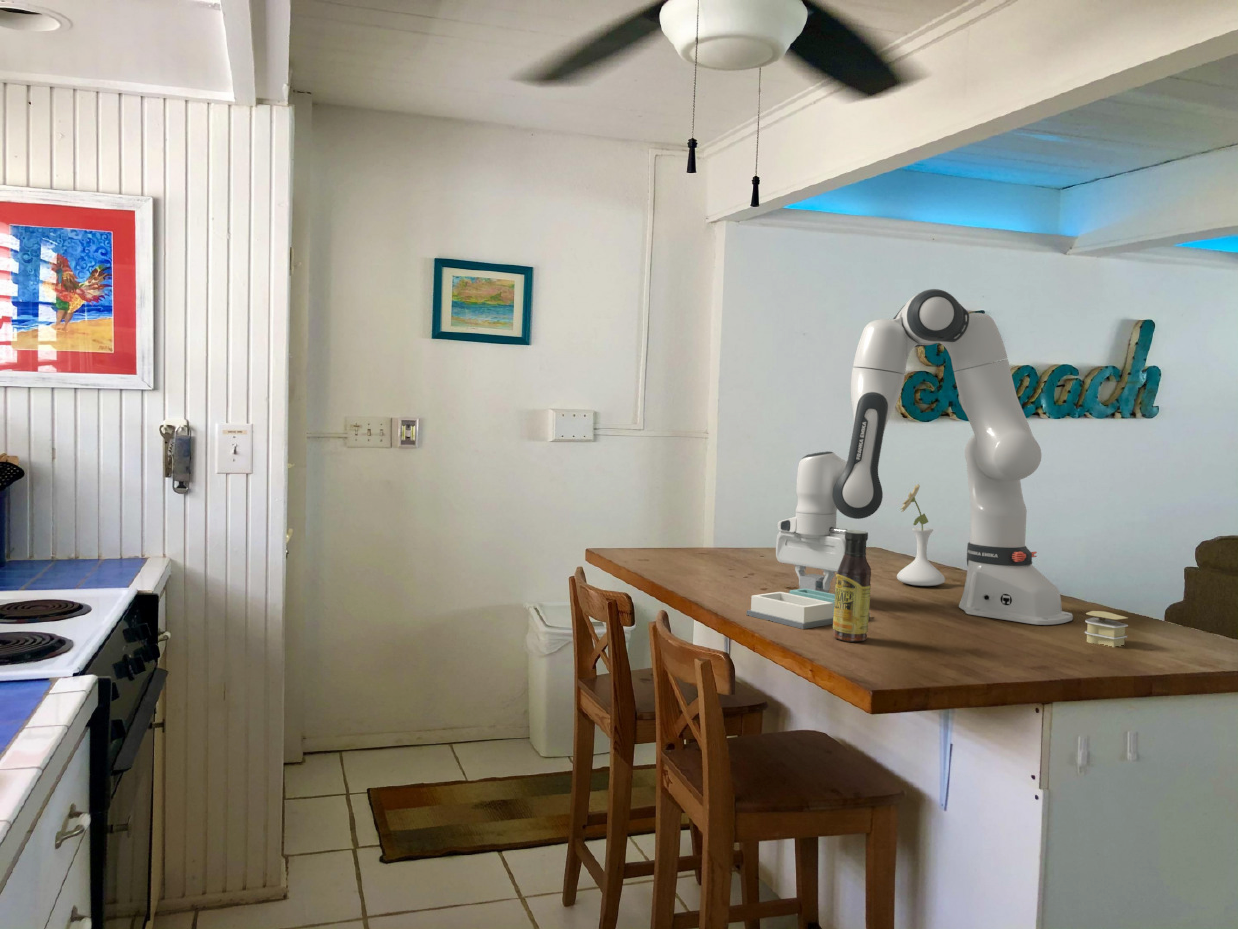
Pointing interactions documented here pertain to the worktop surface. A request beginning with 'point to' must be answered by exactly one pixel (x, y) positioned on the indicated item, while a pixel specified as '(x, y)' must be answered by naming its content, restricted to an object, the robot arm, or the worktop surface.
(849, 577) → the sauce bottle
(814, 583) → the steel block
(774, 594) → the holder
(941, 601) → the worktop surface
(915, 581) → the flower in vase
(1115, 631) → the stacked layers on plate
